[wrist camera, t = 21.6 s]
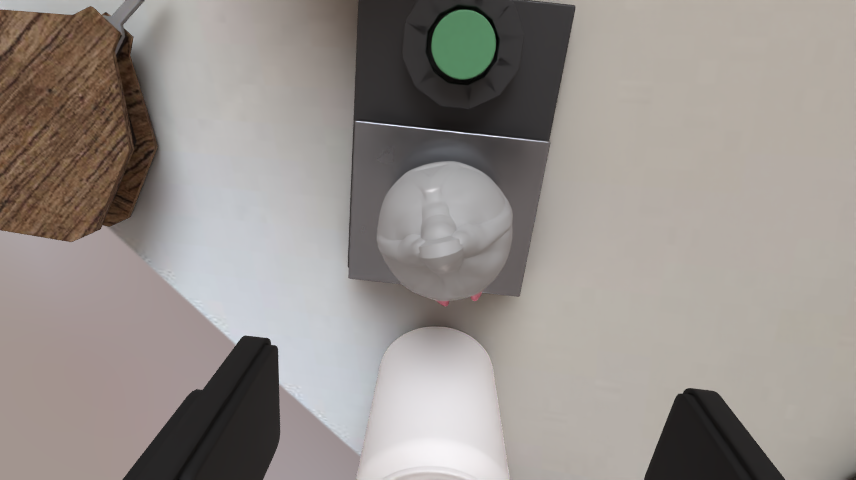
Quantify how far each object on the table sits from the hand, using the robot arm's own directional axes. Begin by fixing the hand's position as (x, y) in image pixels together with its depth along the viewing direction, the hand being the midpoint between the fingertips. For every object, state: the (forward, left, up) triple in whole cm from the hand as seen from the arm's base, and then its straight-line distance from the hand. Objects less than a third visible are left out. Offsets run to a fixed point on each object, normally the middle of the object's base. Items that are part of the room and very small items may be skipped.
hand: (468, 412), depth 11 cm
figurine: (0, 0, -15) cm, 15 cm away
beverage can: (+13, 0, -19) cm, 23 cm away
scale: (-3, -1, -19) cm, 19 cm away
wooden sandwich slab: (-4, -21, -15) cm, 27 cm away
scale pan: (0, -1, -16) cm, 16 cm away
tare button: (-8, -1, -16) cm, 18 cm away
